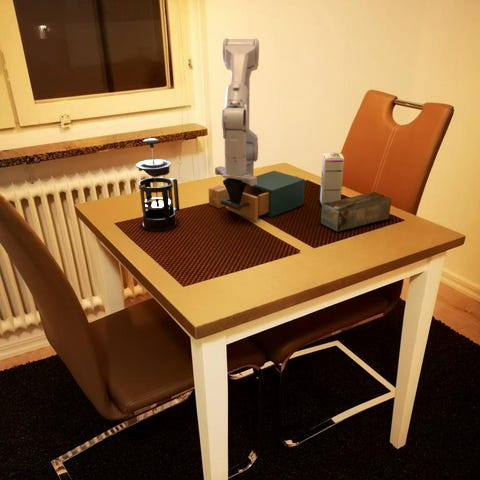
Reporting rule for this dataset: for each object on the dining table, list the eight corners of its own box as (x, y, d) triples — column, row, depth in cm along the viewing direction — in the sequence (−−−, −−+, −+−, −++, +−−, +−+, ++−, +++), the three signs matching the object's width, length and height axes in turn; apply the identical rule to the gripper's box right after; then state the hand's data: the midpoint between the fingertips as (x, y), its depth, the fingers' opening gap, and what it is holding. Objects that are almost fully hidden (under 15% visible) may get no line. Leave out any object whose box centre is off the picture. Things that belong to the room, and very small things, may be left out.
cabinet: (271, 217, 142) (272, 190, 138) (241, 206, 150) (241, 180, 145) (303, 204, 150) (304, 179, 146) (273, 195, 158) (274, 170, 154)
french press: (151, 234, 132) (142, 146, 119) (134, 224, 138) (123, 139, 125) (188, 223, 138) (182, 138, 125) (169, 214, 144) (162, 132, 131)
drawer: (243, 224, 136) (243, 202, 132) (215, 213, 142) (215, 192, 139) (286, 207, 146) (287, 186, 143) (259, 198, 153) (259, 178, 150)
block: (209, 204, 151) (208, 188, 148) (219, 201, 153) (219, 184, 150) (218, 208, 148) (218, 191, 145) (229, 204, 151) (229, 188, 148)
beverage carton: (318, 223, 138) (320, 200, 135) (371, 211, 146) (374, 189, 142) (336, 233, 132) (339, 209, 129) (390, 220, 140) (394, 197, 136)
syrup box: (340, 206, 149) (345, 157, 141) (320, 206, 149) (325, 157, 141) (337, 199, 154) (342, 152, 146) (318, 199, 154) (322, 152, 146)
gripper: (206, 153, 133) (208, 202, 141) (243, 164, 124) (243, 215, 132) (225, 148, 137) (226, 196, 145) (262, 158, 129) (261, 208, 136)
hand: (235, 204), depth 139 cm, fingers closed, pressing on drawer
